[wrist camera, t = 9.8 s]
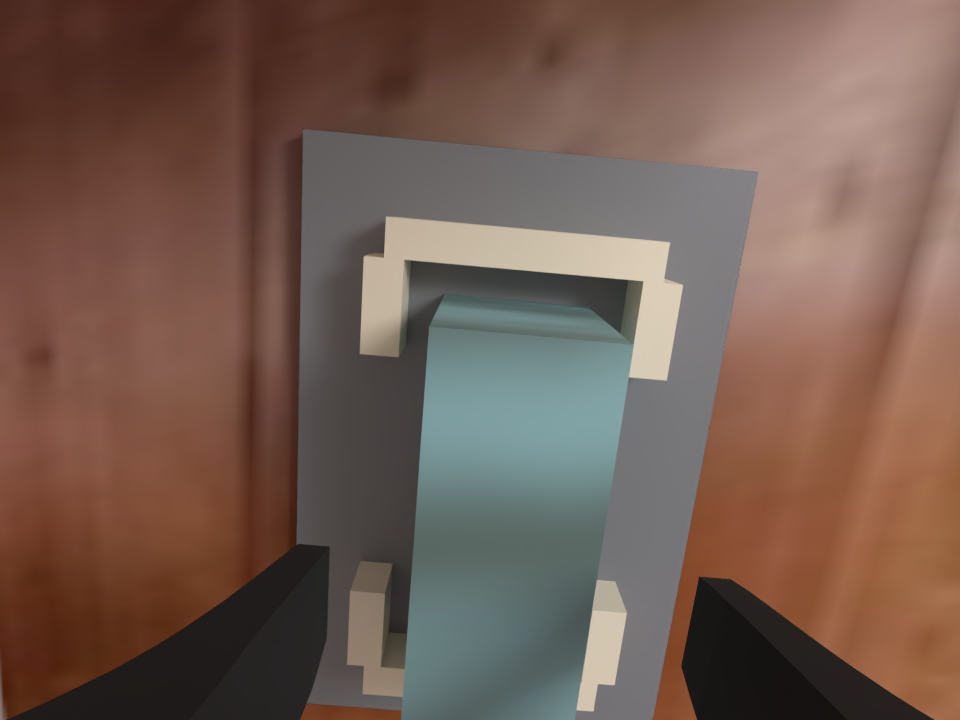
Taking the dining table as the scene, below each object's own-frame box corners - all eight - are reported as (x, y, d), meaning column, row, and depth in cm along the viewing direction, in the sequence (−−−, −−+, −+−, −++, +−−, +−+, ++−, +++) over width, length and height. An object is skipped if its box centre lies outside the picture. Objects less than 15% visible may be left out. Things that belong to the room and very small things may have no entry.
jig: (645, 714, 20) (664, 770, 18) (299, 688, 20) (278, 741, 18) (748, 173, 16) (787, 166, 14) (309, 132, 16) (284, 119, 14)
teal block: (545, 616, 19) (568, 758, 14) (420, 606, 18) (399, 745, 14) (587, 306, 16) (633, 345, 11) (445, 294, 16) (428, 326, 11)
